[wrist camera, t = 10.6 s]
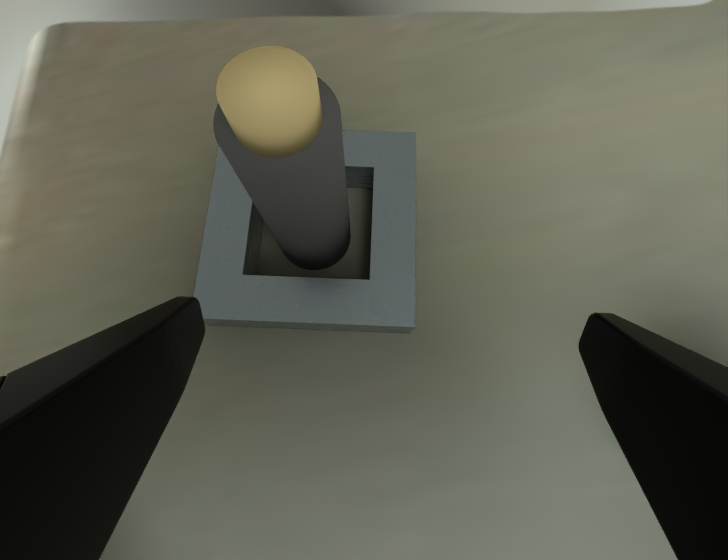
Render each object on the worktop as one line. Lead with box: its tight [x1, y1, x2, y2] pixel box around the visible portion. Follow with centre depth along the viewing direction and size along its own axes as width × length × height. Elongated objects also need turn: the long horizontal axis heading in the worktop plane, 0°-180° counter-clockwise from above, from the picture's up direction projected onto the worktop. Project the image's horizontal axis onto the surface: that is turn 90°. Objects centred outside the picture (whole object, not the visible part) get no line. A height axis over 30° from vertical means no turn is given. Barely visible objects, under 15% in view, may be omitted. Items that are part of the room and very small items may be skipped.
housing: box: [193, 130, 416, 333], centre depth 23 cm, size 12×12×2 cm
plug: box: [214, 46, 350, 270], centre depth 18 cm, size 4×4×12 cm
